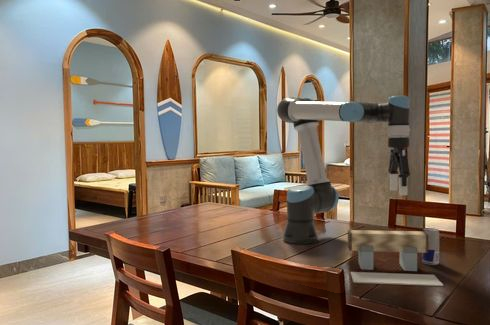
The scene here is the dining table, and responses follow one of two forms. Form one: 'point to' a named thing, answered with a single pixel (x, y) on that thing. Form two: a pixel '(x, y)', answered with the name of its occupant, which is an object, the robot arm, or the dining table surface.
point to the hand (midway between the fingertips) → (398, 192)
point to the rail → (388, 240)
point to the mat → (395, 278)
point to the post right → (408, 259)
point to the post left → (366, 257)
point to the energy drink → (432, 247)
